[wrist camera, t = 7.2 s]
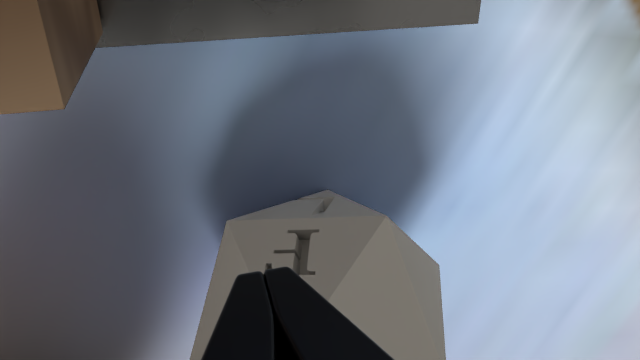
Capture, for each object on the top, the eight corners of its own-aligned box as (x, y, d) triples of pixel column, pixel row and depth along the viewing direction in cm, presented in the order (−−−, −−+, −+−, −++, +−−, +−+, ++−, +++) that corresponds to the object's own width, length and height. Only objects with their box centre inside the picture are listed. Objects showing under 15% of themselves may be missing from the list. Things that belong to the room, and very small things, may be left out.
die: (434, 184, 23) (441, 186, 13) (443, 389, 23) (456, 538, 13) (248, 192, 24) (137, 199, 15) (255, 384, 24) (148, 514, 15)
